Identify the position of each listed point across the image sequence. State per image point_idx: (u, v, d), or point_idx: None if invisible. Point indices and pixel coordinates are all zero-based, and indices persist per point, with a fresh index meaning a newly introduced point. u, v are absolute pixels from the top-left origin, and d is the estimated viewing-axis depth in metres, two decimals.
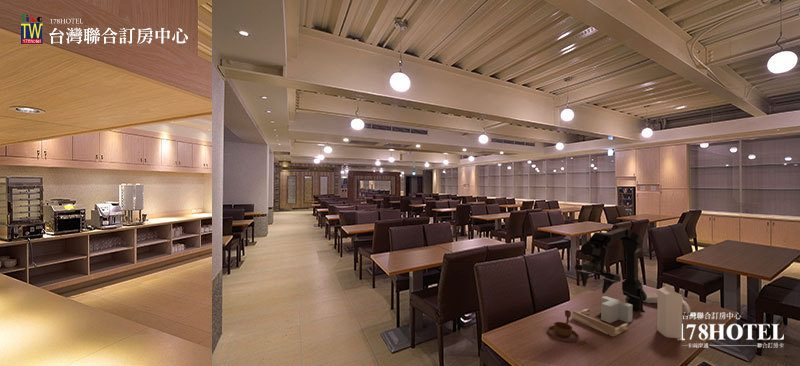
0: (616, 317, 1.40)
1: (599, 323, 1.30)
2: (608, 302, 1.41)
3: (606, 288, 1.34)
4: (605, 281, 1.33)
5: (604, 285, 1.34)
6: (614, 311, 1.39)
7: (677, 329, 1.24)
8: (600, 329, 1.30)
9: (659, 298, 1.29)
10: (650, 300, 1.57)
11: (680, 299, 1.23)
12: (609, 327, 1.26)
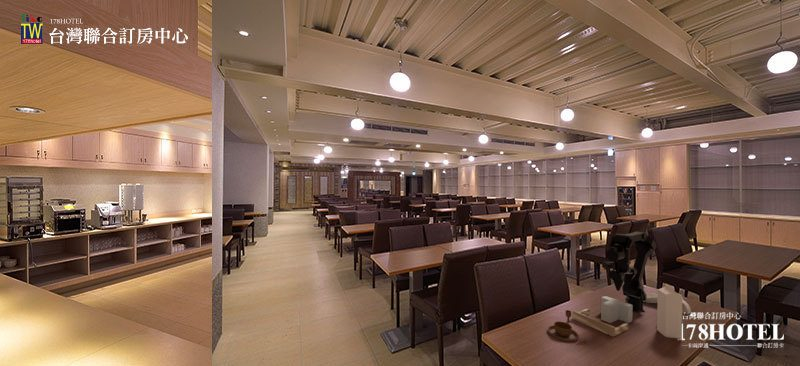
0: (616, 317, 1.40)
1: (599, 323, 1.30)
2: (608, 302, 1.41)
3: (617, 285, 1.43)
4: None
5: None
6: (614, 311, 1.39)
7: (677, 329, 1.24)
8: (600, 329, 1.30)
9: (659, 298, 1.29)
10: (650, 300, 1.57)
11: (680, 299, 1.23)
12: (609, 327, 1.26)
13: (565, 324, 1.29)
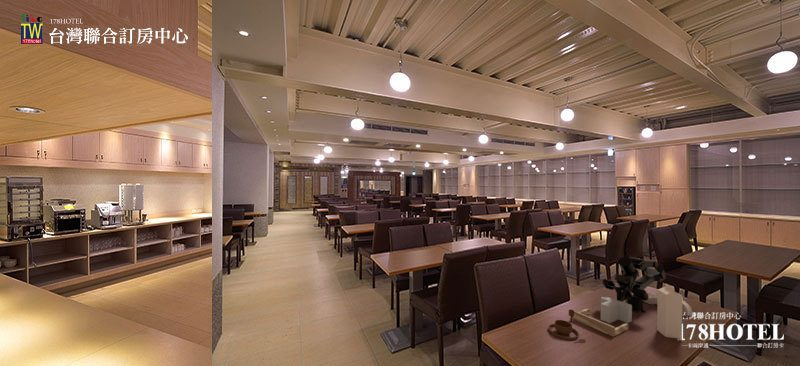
0: (615, 317, 1.39)
1: (599, 323, 1.30)
2: (608, 303, 1.41)
3: (622, 299, 1.44)
4: (624, 292, 1.44)
5: (621, 295, 1.44)
6: (614, 311, 1.39)
7: (677, 329, 1.24)
8: (600, 329, 1.30)
9: (659, 298, 1.29)
10: (650, 300, 1.57)
11: (680, 299, 1.23)
12: (609, 327, 1.26)
13: (566, 323, 1.30)
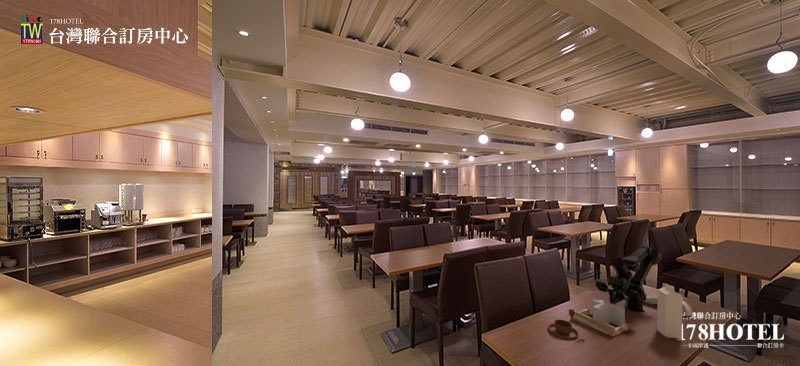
0: (608, 320, 1.36)
1: (599, 323, 1.30)
2: (600, 305, 1.38)
3: (615, 301, 1.41)
4: (617, 294, 1.41)
5: (614, 298, 1.41)
6: (606, 314, 1.35)
7: (677, 329, 1.24)
8: (600, 329, 1.30)
9: (659, 298, 1.29)
10: (650, 300, 1.57)
11: (680, 299, 1.23)
12: (609, 327, 1.26)
13: (566, 322, 1.30)
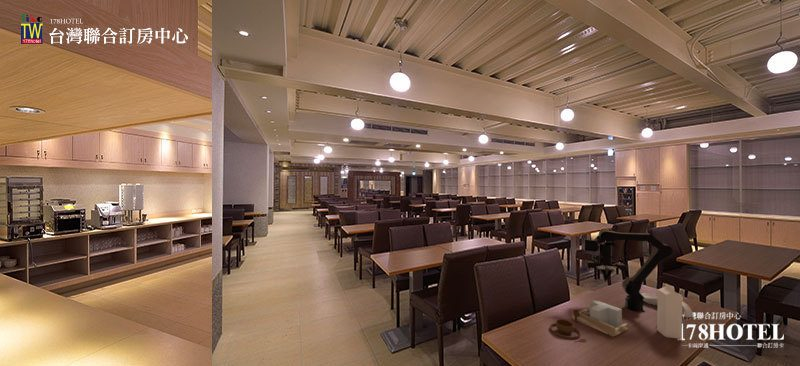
0: (605, 322, 1.35)
1: (599, 323, 1.30)
2: (597, 307, 1.36)
3: (602, 276, 1.58)
4: None
5: None
6: (603, 315, 1.34)
7: (677, 329, 1.24)
8: (600, 329, 1.30)
9: (659, 298, 1.29)
10: (651, 301, 1.56)
11: (680, 299, 1.23)
12: (609, 327, 1.26)
13: (568, 322, 1.30)
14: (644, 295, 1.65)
